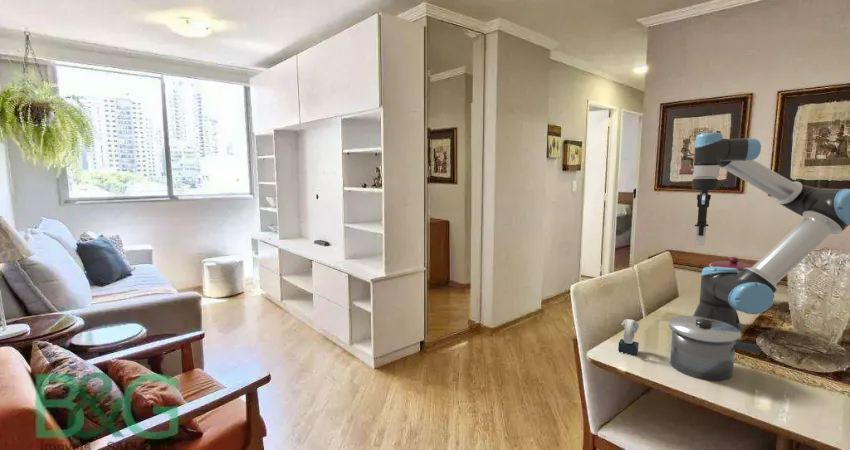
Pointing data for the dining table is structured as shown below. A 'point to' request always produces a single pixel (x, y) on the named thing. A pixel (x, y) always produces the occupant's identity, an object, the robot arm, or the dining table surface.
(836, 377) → the dining table surface
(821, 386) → the dining table surface
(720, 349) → the cooker pot
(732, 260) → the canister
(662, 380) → the dining table surface
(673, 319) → the lid
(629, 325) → the watch
